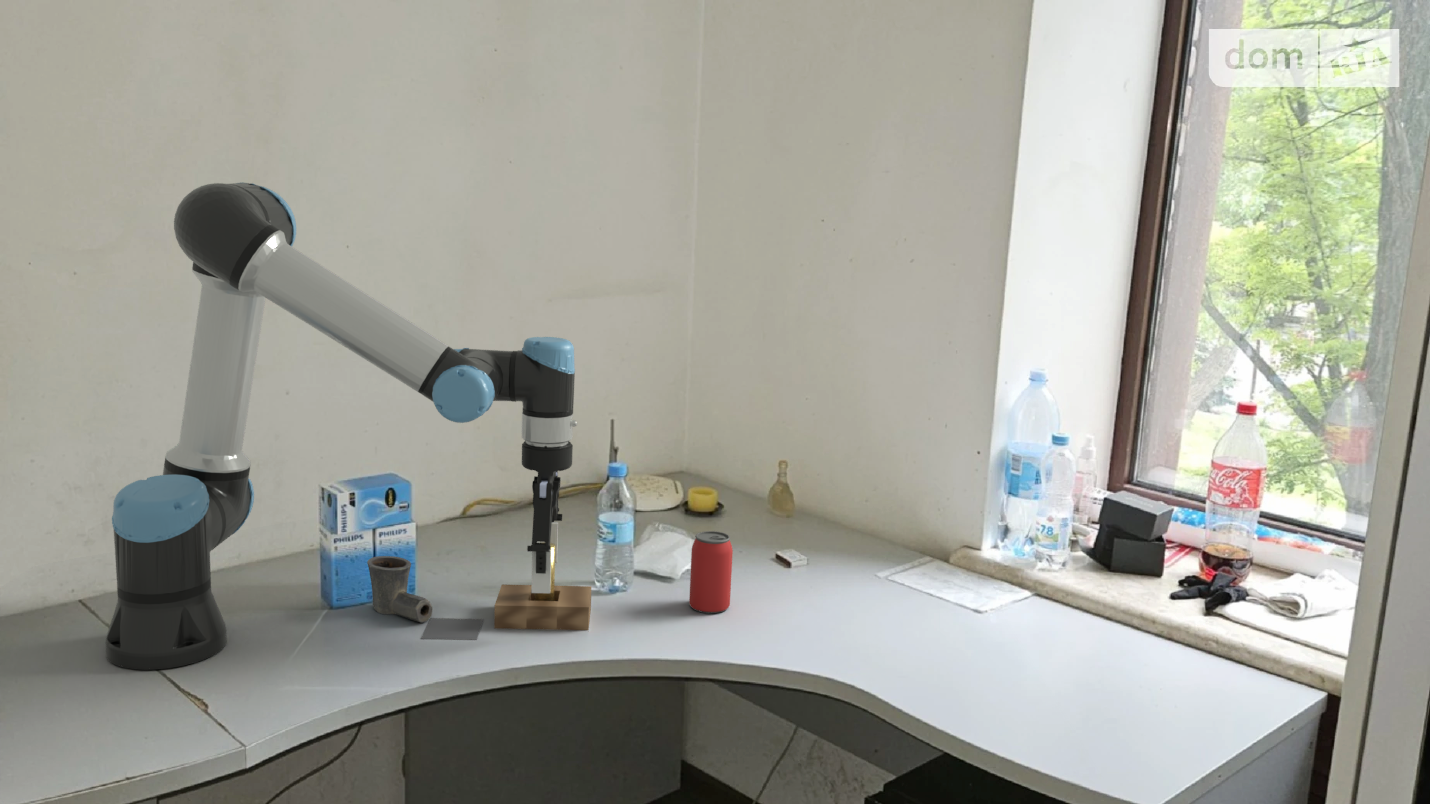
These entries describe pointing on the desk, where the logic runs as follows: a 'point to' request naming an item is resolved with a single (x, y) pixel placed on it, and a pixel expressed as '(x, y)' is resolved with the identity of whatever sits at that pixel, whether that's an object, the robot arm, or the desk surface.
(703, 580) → the beer can
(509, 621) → the socket block
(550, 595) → the pin
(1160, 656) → the desk surface
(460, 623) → the mat
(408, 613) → the pipe
